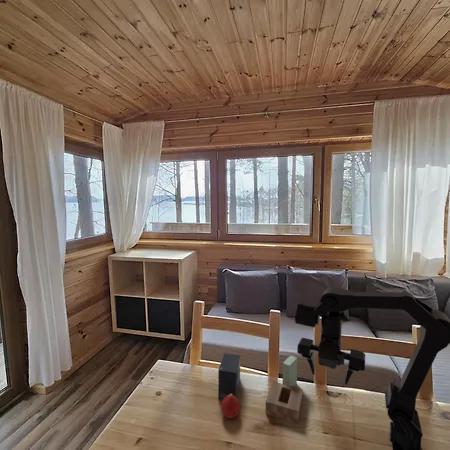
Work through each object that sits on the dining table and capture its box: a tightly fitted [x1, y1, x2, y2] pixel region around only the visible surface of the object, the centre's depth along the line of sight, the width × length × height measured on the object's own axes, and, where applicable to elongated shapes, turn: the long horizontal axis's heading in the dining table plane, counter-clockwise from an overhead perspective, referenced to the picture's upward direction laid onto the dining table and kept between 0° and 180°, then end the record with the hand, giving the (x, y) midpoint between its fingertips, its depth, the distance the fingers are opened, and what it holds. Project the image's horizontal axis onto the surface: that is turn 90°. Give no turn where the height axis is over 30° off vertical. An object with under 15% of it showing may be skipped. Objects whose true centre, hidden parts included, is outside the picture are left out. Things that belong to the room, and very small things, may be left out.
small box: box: [217, 352, 241, 400], centre depth 96 cm, size 11×6×10 cm, turn 168°
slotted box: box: [265, 381, 304, 425], centre depth 86 cm, size 10×10×5 cm
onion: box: [221, 394, 241, 419], centre depth 83 cm, size 6×6×8 cm
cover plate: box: [282, 355, 298, 387], centre depth 95 cm, size 2×6×11 cm, turn 139°
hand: (329, 379), depth 82 cm, fingers open, 9 cm apart
